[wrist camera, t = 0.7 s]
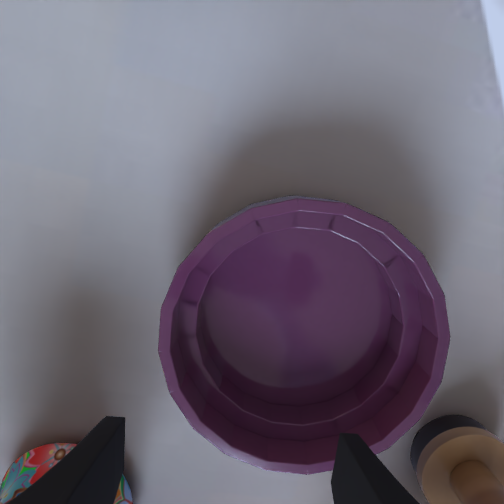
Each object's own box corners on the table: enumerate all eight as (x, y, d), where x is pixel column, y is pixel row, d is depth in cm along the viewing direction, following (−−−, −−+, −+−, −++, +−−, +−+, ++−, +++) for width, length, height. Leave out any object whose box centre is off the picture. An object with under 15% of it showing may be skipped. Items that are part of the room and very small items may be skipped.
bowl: (428, 399, 25) (466, 446, 20) (207, 440, 25) (196, 495, 21) (394, 172, 22) (427, 169, 18) (151, 225, 23) (125, 234, 19)
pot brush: (500, 482, 26) (585, 588, 19) (413, 497, 26) (468, 607, 19) (490, 404, 25) (577, 486, 18) (400, 420, 25) (453, 508, 18)
